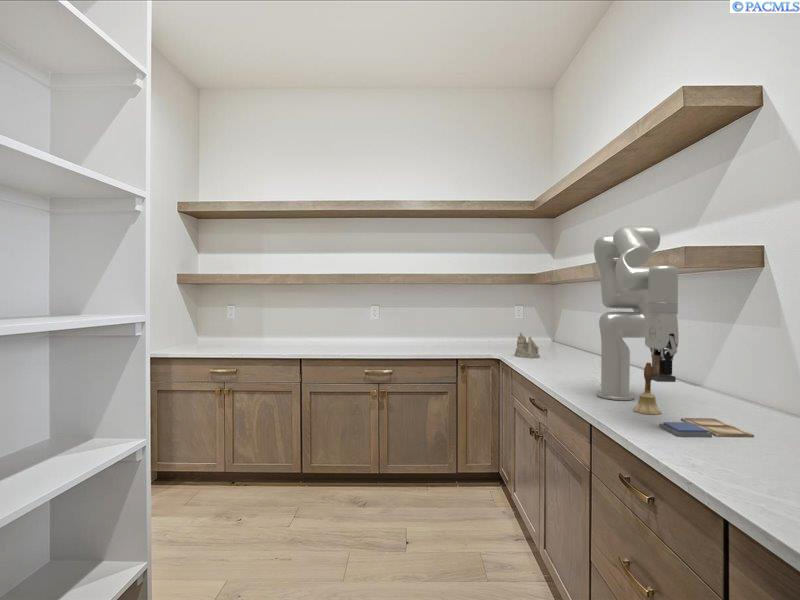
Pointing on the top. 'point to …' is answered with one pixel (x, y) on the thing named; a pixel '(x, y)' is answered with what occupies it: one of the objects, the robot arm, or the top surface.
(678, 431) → the ink pad
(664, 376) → the stamp
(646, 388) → the hand bell
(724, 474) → the top surface
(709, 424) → the board
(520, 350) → the castle ruin model
